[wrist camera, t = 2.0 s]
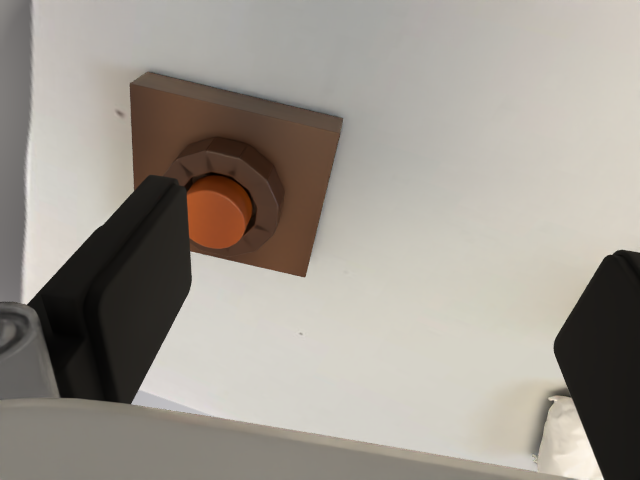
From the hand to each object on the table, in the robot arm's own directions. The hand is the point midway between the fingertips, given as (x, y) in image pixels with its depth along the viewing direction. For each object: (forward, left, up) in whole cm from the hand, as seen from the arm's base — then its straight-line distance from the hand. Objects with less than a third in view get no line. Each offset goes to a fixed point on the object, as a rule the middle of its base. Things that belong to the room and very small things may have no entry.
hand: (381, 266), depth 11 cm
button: (-7, -8, -13) cm, 16 cm away
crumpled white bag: (+22, -24, -16) cm, 36 cm away
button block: (-7, -8, -16) cm, 19 cm away
